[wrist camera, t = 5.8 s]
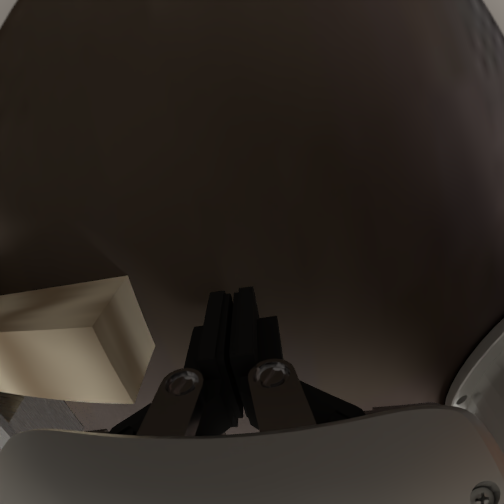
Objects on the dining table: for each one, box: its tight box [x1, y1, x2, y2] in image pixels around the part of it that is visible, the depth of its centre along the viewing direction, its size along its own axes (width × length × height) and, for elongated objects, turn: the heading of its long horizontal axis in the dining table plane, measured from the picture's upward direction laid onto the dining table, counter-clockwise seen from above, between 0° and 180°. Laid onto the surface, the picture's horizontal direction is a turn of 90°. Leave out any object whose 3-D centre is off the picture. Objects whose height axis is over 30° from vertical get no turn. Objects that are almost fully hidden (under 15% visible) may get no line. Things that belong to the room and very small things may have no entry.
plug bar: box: [0, 275, 155, 404], centre depth 13 cm, size 13×4×4 cm, turn 100°
